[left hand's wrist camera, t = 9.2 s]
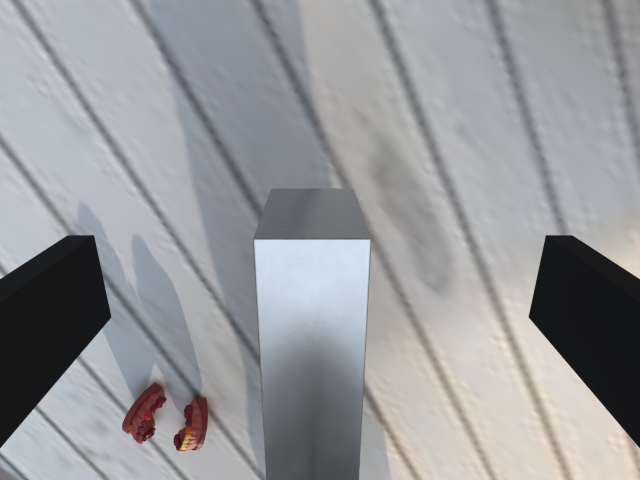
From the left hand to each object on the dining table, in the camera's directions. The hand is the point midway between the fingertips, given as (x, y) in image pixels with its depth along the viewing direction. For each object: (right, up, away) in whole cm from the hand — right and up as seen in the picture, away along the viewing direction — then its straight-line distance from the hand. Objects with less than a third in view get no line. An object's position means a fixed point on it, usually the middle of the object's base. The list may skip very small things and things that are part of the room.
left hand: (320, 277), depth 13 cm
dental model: (-16, -17, +32) cm, 40 cm away
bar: (0, -8, +16) cm, 18 cm away
